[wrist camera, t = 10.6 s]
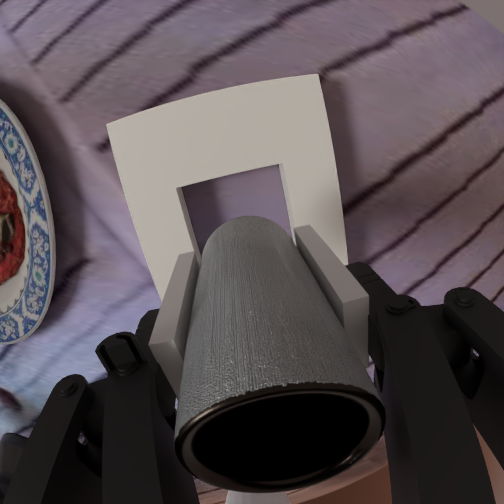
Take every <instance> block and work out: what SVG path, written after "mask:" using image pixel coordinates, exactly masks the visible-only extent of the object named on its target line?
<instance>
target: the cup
mask: <svg viewBox="0 0 504 504" xmlns="http://www.w3.org/2000/svg"><path fill="white" fill-rule="evenodd" d="M225 504H291V503H290V501H289V499H288V497H287V495H286V493H285V492H276V493H244V492H236V491H231V490H228V494H227V498H226V502H225Z"/></svg>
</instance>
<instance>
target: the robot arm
mask: <svg viewBox="0 0 504 504" xmlns="http://www.w3.org/2000/svg"><path fill="white" fill-rule="evenodd" d="M293 229H294V234H295V240H296V246H297V248H298V250H299V252H300V254H301V255H302V257H303V259H304V260H305V262H306V264H307V265H308V267H309V269H310V271H311V272H312V274H313V276H314V277H315V279H316V281H317V283H318V284H319V286H320V288H321V290H322V291H323V293H324V295H325V297H326V298H327V300H328V302H329V304H330V305H331V307H332V309H333V311H334V312H335V314H336V316H337V318H338V320H339V321H340V323H341V325H342V327H343V329H344V330H345V332H346V334H347V336H348V338H349V339H350V341H351V343H352V345H353V347H354V349H355V350H356V352H357V354H358V356H359V358H360V360H361V361H362V363H363V365H364V367H365V368H367V367H369V355H370V357H371V358H372V360H373V362H374V364H375V369H374V386H375V388H376V389H377V392H378V394H379V396H380V398H381V400H382V402H383V404H384V406H385V409H386V424H385V428H384V435H385V442H386V449H387V457H388V465H389V474H390V483H391V493H392V504H496V503H495V499H494V494H493V489H492V486H491V481H490V477H489V474H488V470H487V467H486V463H485V460H484V456H483V453H482V450H481V446H480V443H479V440H478V437H477V434H476V431H475V429H474V426H473V424H474V425H475V427H476V428H477V430H478V431H479V433H480V434H481V436H482V437H483V439H484V440H485V442H486V443H487V445H488V446H489V448H490V449H491V451H492V453H493V454H494V456H495V457H496V459H497V460H498V462H499V463H500V465H501V467H502V468H503V470H504V312H503V311H502V310H501V309H500V308H498V307H497V306H496V305H495V304H493V303H492V302H491V301H490V300H488V299H487V298H486V297H485V296H483V295H482V294H481V293H480V292H478V291H476V290H474V289H471V288H467V287H458V288H454V289H451V290H450V291H448V292H447V293H446V295H445V296H444V304H440V305H431V306H421V305H420V303H419V302H418V301H417V300H416V299H414V298H412V297H410V296H407V295H397V294H396V293H395V292H394V291H393V290H392V289H391V288H390V287H389V286H388V285H387V284H386V283H385V281H384V280H383V279H381V277H380V276H379V275H378V274H376V272H375V271H374V270H373V269H372V268H371V267H370V266H368V265H366V264H363V263H361V262H357V263H353V264H349V265H344V264H343V263H342V262H341V261H340V260H339V258H338V257H337V256H336V255H335V254H334V252H333V251H332V250H331V249H330V248H329V246H328V245H327V244H326V243H325V242H324V241H323V239H322V238H321V237H320V236H319V235H318V234H317V233H316V231H315V230H314V229H313V228H312V227H311V226H310V224H309V225H305V226H300V227H296V228H293ZM198 273H199V263H198V260H197V257H196V254H195V251H192V252H188V253H183V254H179V256H178V258H177V261H176V264H175V267H174V269H173V272H172V275H171V278H170V281H169V284H168V287H167V289H166V292H165V295H164V298H163V301H162V304H161V307H160V309H155V310H150V311H148V312H147V313H146V314H145V315H144V316H143V317H142V318H141V320H140V322H139V325H138V329H137V330H136V333H135V335H134V334H133V333H131V332H120V333H116V334H113V335H111V336H109V337H107V338H106V339H104V340H103V341H102V342H101V343H100V344H99V345H98V346H97V348H96V350H95V352H96V354H97V356H98V357H99V359H100V361H101V362H102V364H103V366H104V367H105V369H106V371H107V372H108V376H107V378H105V379H102V380H99V381H96V382H93V383H90V384H89V383H88V382H87V380H86V379H85V377H83V376H82V375H79V374H73V375H69V376H66V377H64V378H62V379H61V380H60V381H59V382H58V383H57V384H56V385H55V387H54V388H53V390H52V392H51V394H50V396H49V398H48V400H47V402H46V404H45V406H44V408H43V410H42V412H41V414H40V416H39V418H38V420H37V422H36V424H35V426H34V428H33V430H32V432H31V435H30V437H29V439H26V438H24V437H21V436H18V435H15V434H11V433H6V434H4V435H3V437H2V439H1V441H0V504H200V502H199V498H198V495H197V491H196V487H195V483H194V479H193V475H192V474H190V473H189V472H188V471H187V470H186V469H185V468H184V467H183V466H182V465H181V463H180V462H179V460H178V459H177V457H176V454H175V451H174V433H175V424H176V416H177V411H176V409H175V401H176V398H177V400H179V392H180V385H181V378H182V371H183V364H184V357H185V350H186V344H187V337H188V331H189V325H190V319H191V313H192V307H193V301H194V295H195V289H196V284H197V278H198ZM473 349H474V350H475V351H476V352H477V353H478V354H479V357H478V356H476V355H475V354H474V353H473ZM80 433H81V434H82V435H83V436H84V437H85V439H84V442H83V443H82V444H81V443H80V442H79V441H78V437H79V434H80Z"/></svg>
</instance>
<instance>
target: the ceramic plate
mask: <svg viewBox="0 0 504 504" xmlns="http://www.w3.org/2000/svg"><path fill="white" fill-rule="evenodd" d="M55 270H56V243H55V230H54V222H53V215H52V209H51V204H50V199H49V195H48V191H47V187H46V182H45V178H44V175H43V172H42V169H41V166H40V163H39V160H38V157H37V154H36V152H35V150H34V147H33V145H32V143H31V140H30V138H29V137H28V135H27V133H26V131H25V129H24V127H23V126H22V124H21V122H20V121H19V119H18V118H17V116H16V115H15V114H14V113H13V112H12V110H11V109H10V108H9V107H8V106H7V104H6V103H5V102H3V101H2V100H1V99H0V344H1V345H4V344H13V343H16V342H19V341H22V340H24V339H25V338H27V337H28V336H30V335H31V334H32V333H33V332H34V331H35V330H36V329H37V328H38V326H39V325H40V323H41V322H42V320H43V318H44V316H45V314H46V312H47V310H48V307H49V304H50V301H51V297H52V293H53V288H54V281H55Z"/></svg>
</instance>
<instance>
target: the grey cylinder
mask: <svg viewBox="0 0 504 504" xmlns="http://www.w3.org/2000/svg"><path fill="white" fill-rule="evenodd" d="M385 424H386V409H385V406H384V404H383V402H382V400H381V398H380V396H379V394H378V392H377V390H376V388H375V386H374V384H373V382H372V380H371V378H370V376H369V375H368V373H367V371H366V369H365V367H364V365H363V363H362V361H361V360H360V358H359V356H358V354H357V352H356V350H355V349H354V347H353V345H352V343H351V341H350V339H349V338H348V336H347V334H346V332H345V330H344V329H343V327H342V325H341V323H340V321H339V320H338V318H337V316H336V314H335V312H334V311H333V309H332V307H331V305H330V304H329V302H328V300H327V298H326V297H325V295H324V293H323V291H322V290H321V288H320V286H319V284H318V283H317V281H316V279H315V277H314V276H313V274H312V272H311V271H310V269H309V267H308V265H307V264H306V262H305V260H304V259H303V257H302V255H301V254H300V252H299V250H298V248H297V247H296V245H295V243H294V242H293V240H292V239H291V237H290V236H289V235H288V233H287V232H286V231H285V230H284V229H283V228H282V227H281V226H279V225H278V224H277V223H275V222H273V221H271V220H269V219H266V218H263V217H258V216H243V217H238V218H234V219H231V220H229V221H227V222H225V223H224V224H222V225H221V226H219V227H218V228H217V229H216V230H215V231H214V232H213V233H212V234H211V236H210V237H209V238H208V240H207V242H206V244H205V247H204V250H203V253H202V256H201V262H200V267H199V273H198V278H197V284H196V289H195V295H194V301H193V307H192V313H191V319H190V325H189V331H188V337H187V344H186V350H185V357H184V364H183V371H182V378H181V385H180V392H179V400H178V408H177V416H176V424H175V433H174V451H175V454H176V457H177V459H178V460H179V462H180V463H181V465H182V466H183V467H184V468H185V469H186V470H187V471H188V472H189V473H190V474H192V475H193V476H194V477H196V478H198V479H199V480H201V481H203V482H205V483H207V484H210V485H212V486H215V487H218V488H222V489H226V490H231V491H236V492H244V493H276V492H285V491H291V490H296V489H300V488H304V487H308V486H311V485H315V484H318V483H320V482H323V481H326V480H328V479H330V478H333V477H335V476H337V475H339V474H340V473H342V472H344V471H346V470H348V469H349V468H351V467H352V466H354V465H355V464H356V463H358V462H359V461H360V460H362V459H363V458H364V457H365V456H366V455H367V454H368V453H369V452H370V451H371V450H372V449H373V448H374V446H375V445H376V444H377V442H378V441H379V439H380V437H381V436H382V433H383V431H384V428H385Z"/></svg>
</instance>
